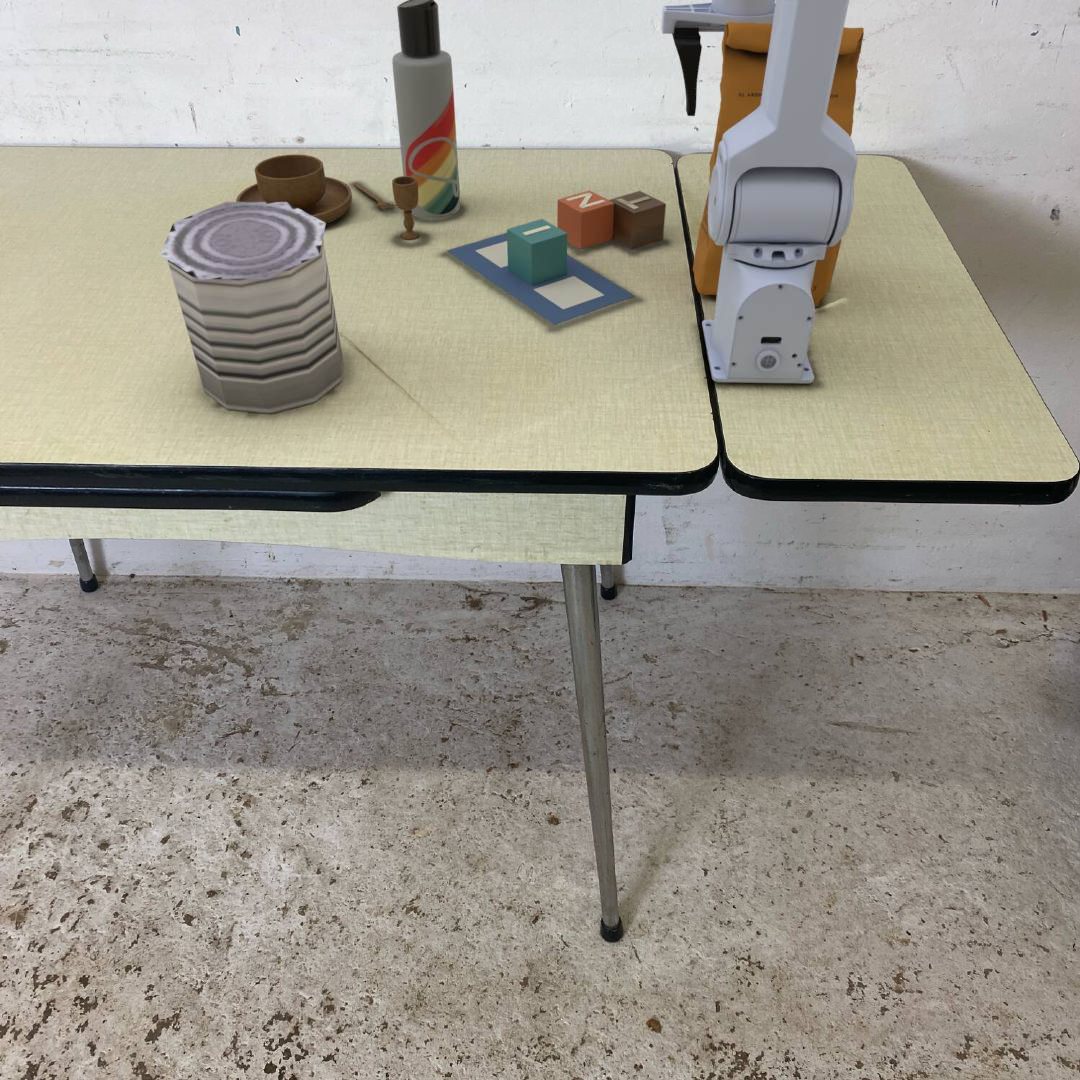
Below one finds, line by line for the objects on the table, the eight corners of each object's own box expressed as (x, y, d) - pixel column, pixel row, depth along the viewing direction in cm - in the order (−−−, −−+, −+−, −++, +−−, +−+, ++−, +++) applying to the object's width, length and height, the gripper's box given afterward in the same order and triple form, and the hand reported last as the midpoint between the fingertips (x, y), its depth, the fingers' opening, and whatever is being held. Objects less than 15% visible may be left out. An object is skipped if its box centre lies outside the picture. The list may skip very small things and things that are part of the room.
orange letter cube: (612, 242, 94) (614, 202, 92) (580, 252, 93) (581, 211, 90) (588, 228, 97) (589, 189, 94) (556, 238, 95) (557, 198, 93)
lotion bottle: (452, 223, 98) (438, 7, 85) (400, 219, 99) (377, 4, 86) (466, 202, 102) (454, -8, 89) (416, 198, 103) (397, -10, 90)
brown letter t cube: (662, 242, 94) (666, 202, 92) (631, 253, 93) (634, 212, 90) (637, 229, 97) (639, 189, 94) (606, 238, 95) (608, 198, 92)
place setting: (351, 177, 108) (344, 123, 104) (434, 239, 95) (429, 181, 91) (200, 211, 101) (186, 154, 97) (267, 283, 88) (254, 222, 84)
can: (347, 334, 81) (325, 195, 73) (346, 408, 72) (321, 260, 64) (210, 344, 80) (173, 204, 72) (193, 420, 71) (149, 272, 63)
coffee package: (826, 322, 82) (886, 45, 68) (683, 305, 85) (712, 34, 70) (830, 272, 89) (886, 12, 75) (698, 257, 92) (728, 3, 77)
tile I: (567, 274, 88) (567, 232, 86) (531, 285, 87) (531, 243, 84) (542, 259, 91) (542, 217, 88) (507, 269, 89) (506, 227, 86)
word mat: (635, 299, 85) (635, 295, 85) (554, 328, 82) (554, 324, 81) (522, 231, 96) (522, 227, 96) (446, 254, 93) (446, 250, 92)
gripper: (822, -56, 87) (796, 100, 96) (664, -56, 87) (653, 99, 96) (838, -40, 82) (809, 123, 91) (670, -41, 82) (657, 122, 91)
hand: (729, 113), depth 93 cm, fingers open, 7 cm apart
